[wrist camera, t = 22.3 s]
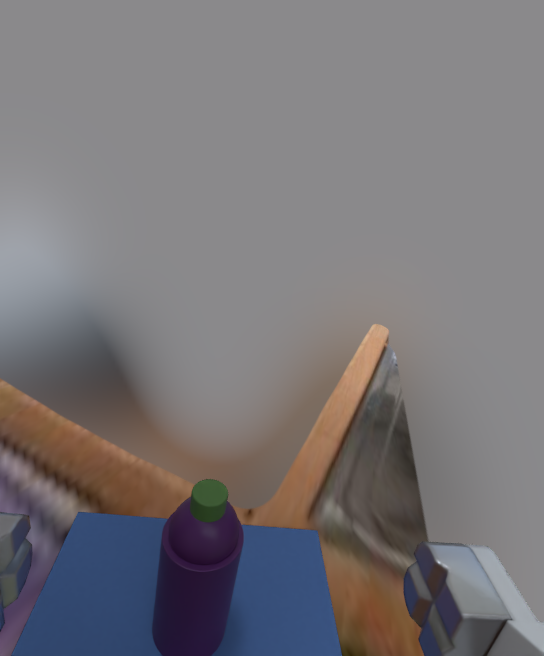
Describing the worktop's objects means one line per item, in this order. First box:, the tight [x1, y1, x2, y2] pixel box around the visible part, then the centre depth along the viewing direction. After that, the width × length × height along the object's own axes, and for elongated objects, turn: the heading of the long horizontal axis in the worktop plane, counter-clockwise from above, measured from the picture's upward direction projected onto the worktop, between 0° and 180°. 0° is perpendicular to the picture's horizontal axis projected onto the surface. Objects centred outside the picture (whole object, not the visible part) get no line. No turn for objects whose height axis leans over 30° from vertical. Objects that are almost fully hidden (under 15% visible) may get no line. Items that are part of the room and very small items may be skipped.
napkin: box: [11, 512, 342, 656], centre depth 30 cm, size 22×18×1 cm
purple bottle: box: [152, 479, 244, 656], centre depth 27 cm, size 5×5×12 cm
